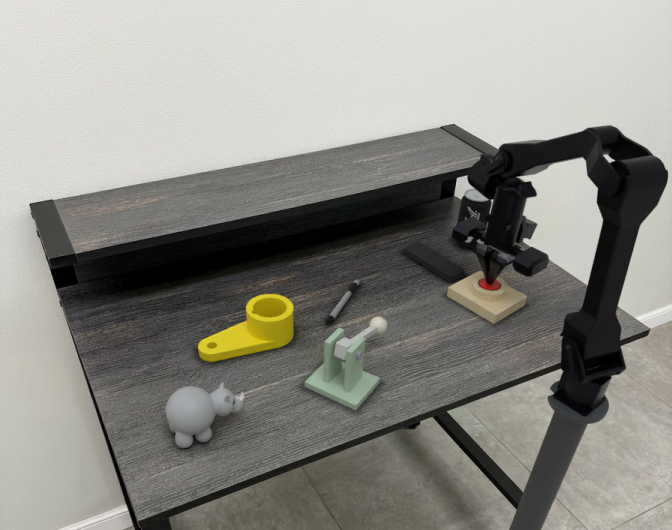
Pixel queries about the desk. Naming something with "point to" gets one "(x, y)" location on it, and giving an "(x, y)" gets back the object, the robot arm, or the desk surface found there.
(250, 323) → the crank
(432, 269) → the remote control
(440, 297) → the desk surface
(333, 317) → the pen
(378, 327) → the lever
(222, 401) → the round bodied animal figurine
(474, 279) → the button box
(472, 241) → the beverage can
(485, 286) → the button
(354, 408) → the bracket
